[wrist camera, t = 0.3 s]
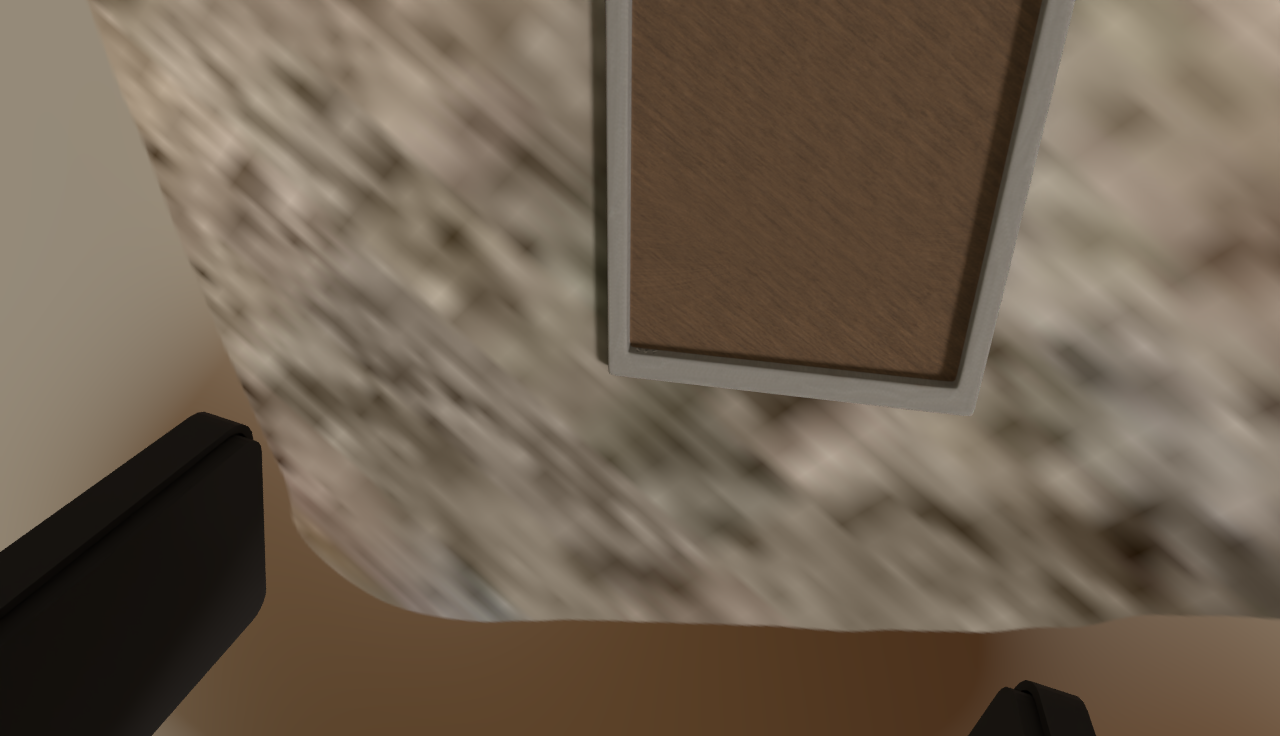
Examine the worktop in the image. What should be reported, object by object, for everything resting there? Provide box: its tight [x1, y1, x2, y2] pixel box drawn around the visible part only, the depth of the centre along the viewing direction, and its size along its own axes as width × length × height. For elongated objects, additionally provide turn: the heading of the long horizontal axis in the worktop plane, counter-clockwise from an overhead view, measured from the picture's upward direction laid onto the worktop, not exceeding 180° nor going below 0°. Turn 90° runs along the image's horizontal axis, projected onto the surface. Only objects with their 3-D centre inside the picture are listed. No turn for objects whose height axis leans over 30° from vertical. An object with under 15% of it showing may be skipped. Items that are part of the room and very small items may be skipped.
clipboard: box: [605, 0, 1075, 416], centre depth 35 cm, size 19×2×30 cm
